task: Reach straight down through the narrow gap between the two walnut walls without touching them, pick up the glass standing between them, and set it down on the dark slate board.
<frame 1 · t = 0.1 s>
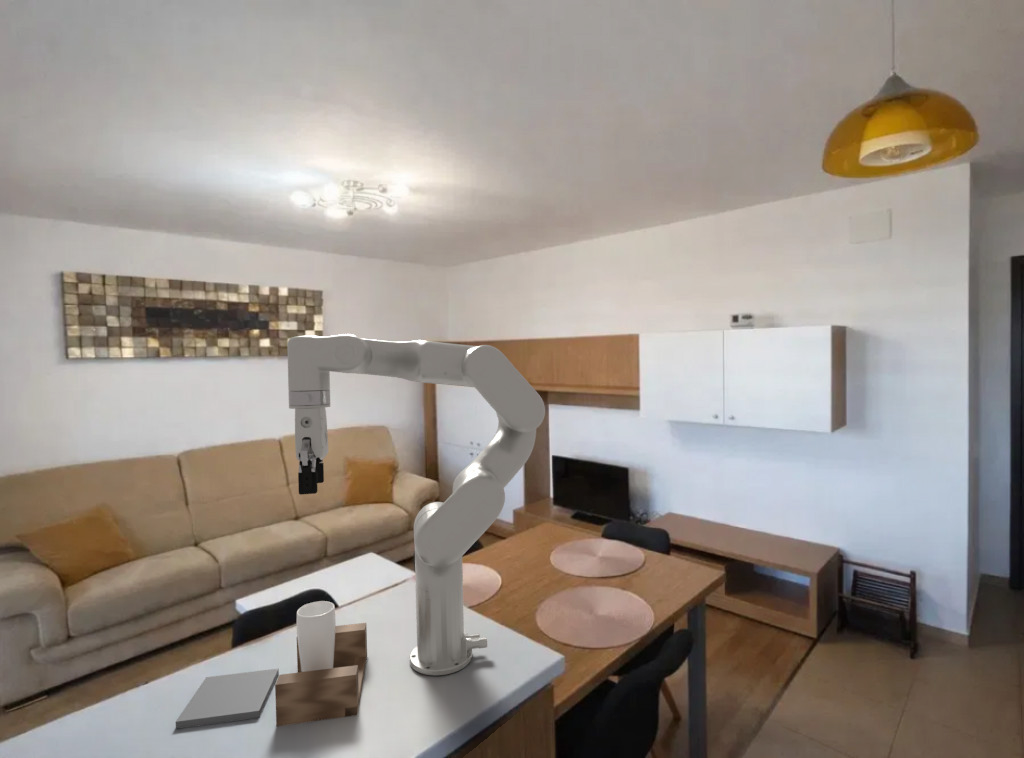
hand: (312, 488, 101), 37 cm above the kitchen counter, tool pointing down, fingers open, 9 cm apart
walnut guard: (318, 688, 97), on the kitchen counter
slate board: (231, 699, 95), on the kitchen counter
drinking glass: (318, 689, 97), on the kitchen counter
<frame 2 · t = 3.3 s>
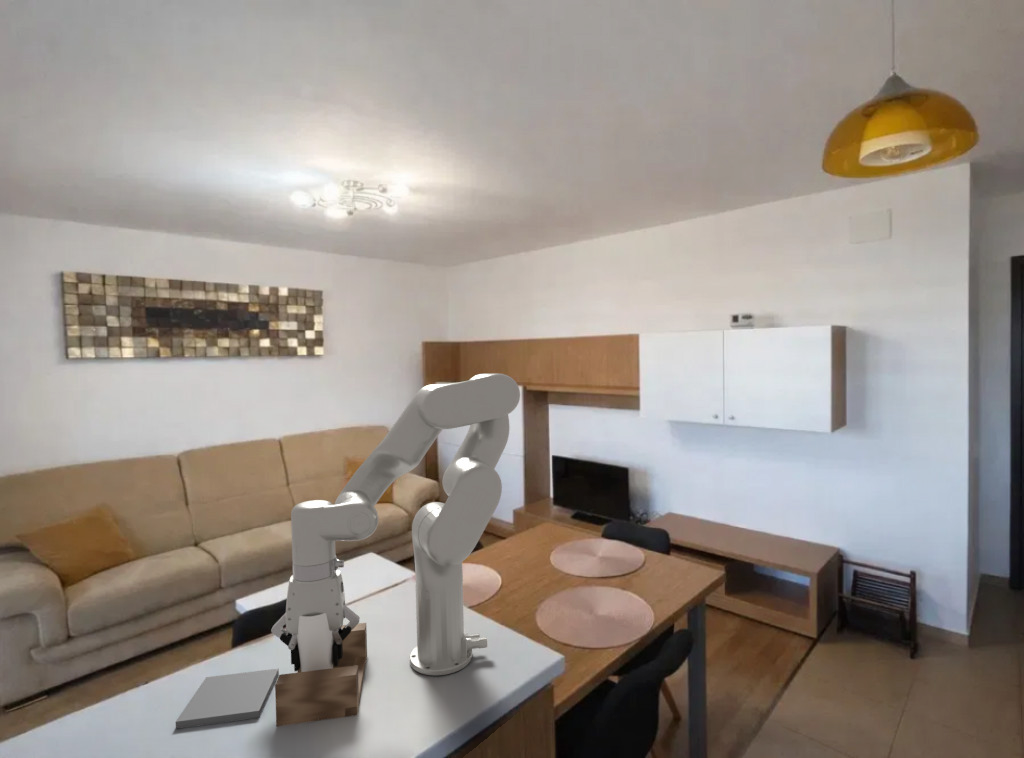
hand: (317, 663, 97), 5 cm above the kitchen counter, tool pointing down, fingers closed on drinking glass, 6 cm apart
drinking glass: (318, 689, 97), on the kitchen counter, touching gripper
everything else where it was.
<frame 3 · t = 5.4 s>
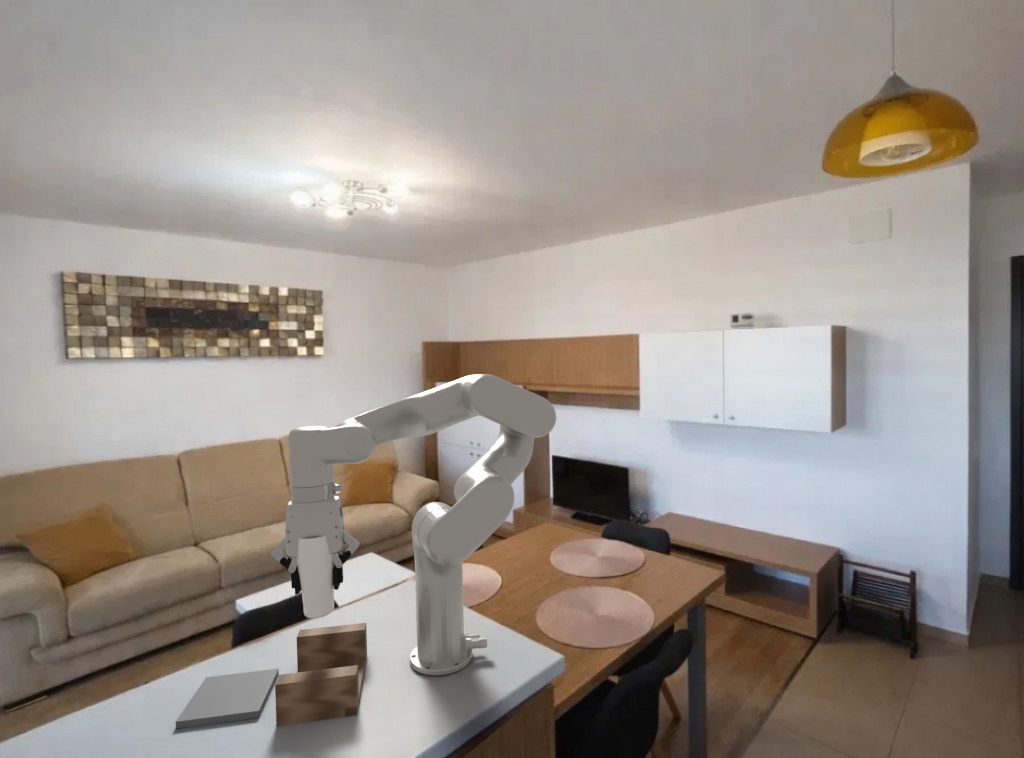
hand: (318, 588, 97), 19 cm above the kitchen counter, tool pointing down, fingers closed on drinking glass, 6 cm apart
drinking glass: (319, 613, 97), point 14 cm above the kitchen counter, touching gripper
everything else where it was.
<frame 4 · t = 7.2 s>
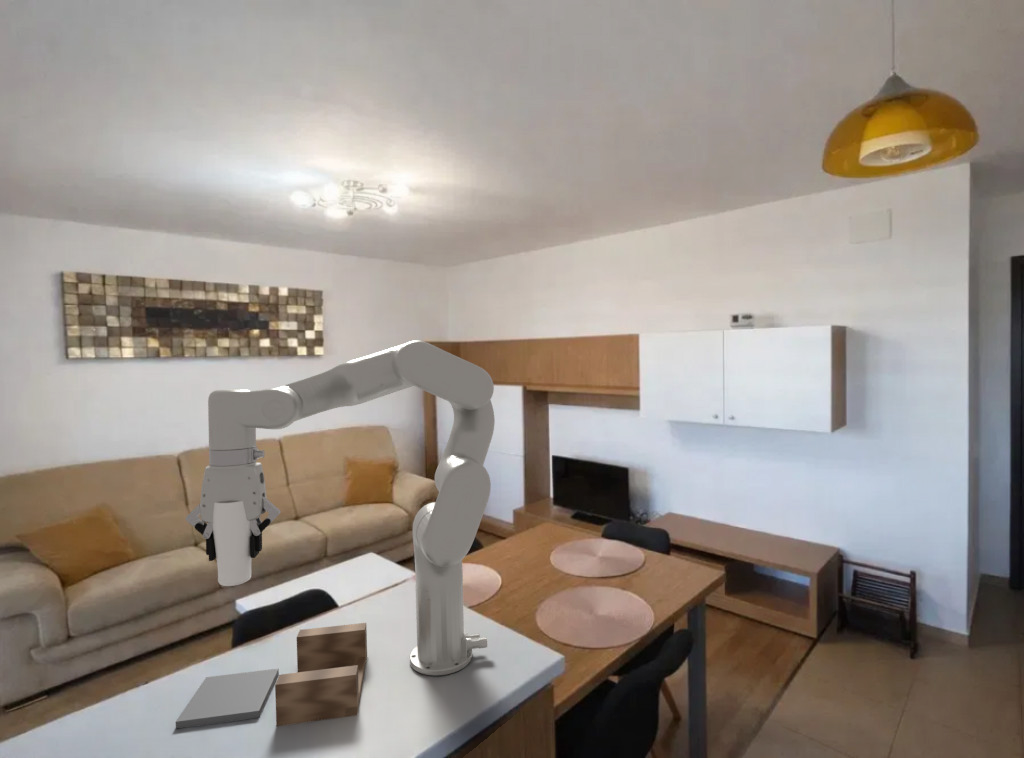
hand: (234, 556, 95), 26 cm above the kitchen counter, tool pointing down, fingers closed on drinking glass, 6 cm apart
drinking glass: (235, 582, 95), point 21 cm above the kitchen counter, touching gripper
everything else where it was.
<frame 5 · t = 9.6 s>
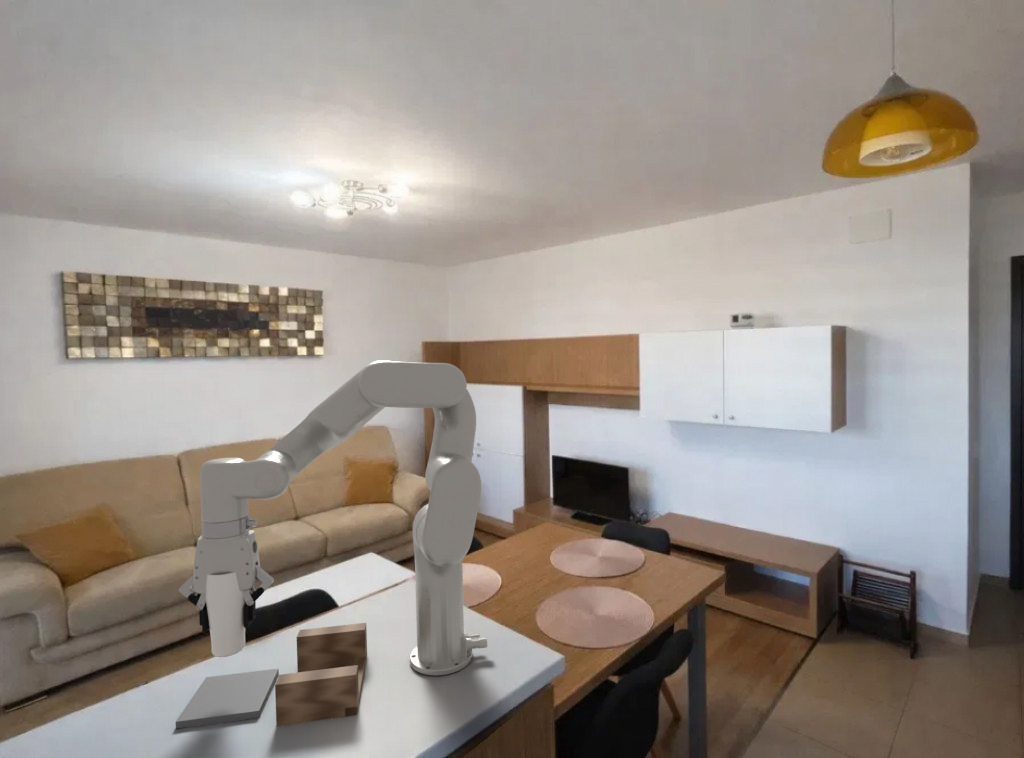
hand: (228, 625, 94), 14 cm above the kitchen counter, tool pointing down, fingers closed on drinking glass, 6 cm apart
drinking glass: (228, 651, 94), point 9 cm above the kitchen counter, touching gripper
everything else where it was.
when the fingers open (7 cm above the kitchen counter, at t = 11.4 s): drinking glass drops 1 cm, resting on slate board.
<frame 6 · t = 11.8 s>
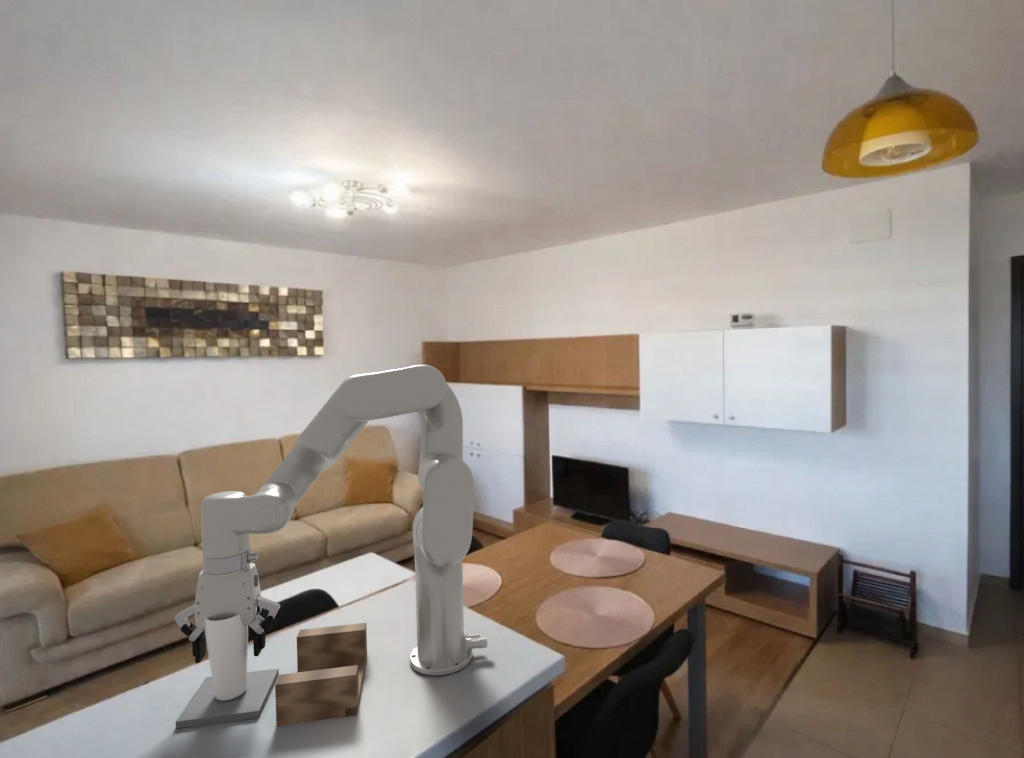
hand: (229, 655, 95), 8 cm above the kitchen counter, tool pointing down, fingers open, 9 cm apart
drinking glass: (231, 693, 95), point 1 cm above the kitchen counter, touching slate board
everything else where it was.
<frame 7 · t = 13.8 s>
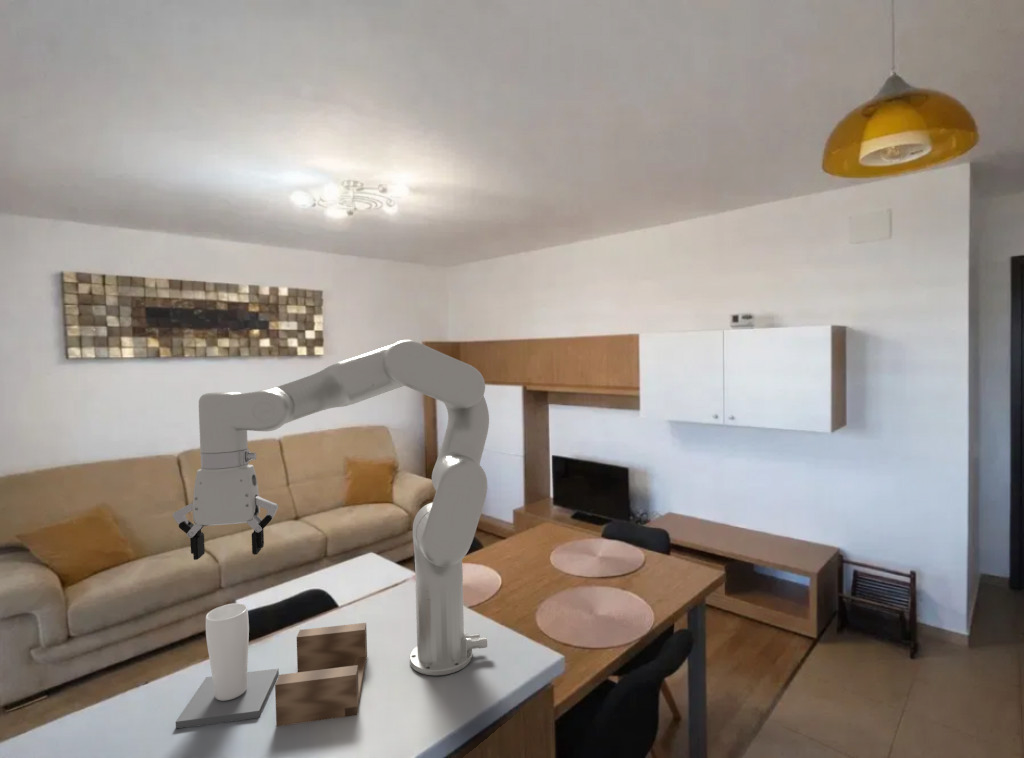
hand: (228, 554, 95), 26 cm above the kitchen counter, tool pointing down, fingers open, 9 cm apart
nothing on the kitchen counter moved.
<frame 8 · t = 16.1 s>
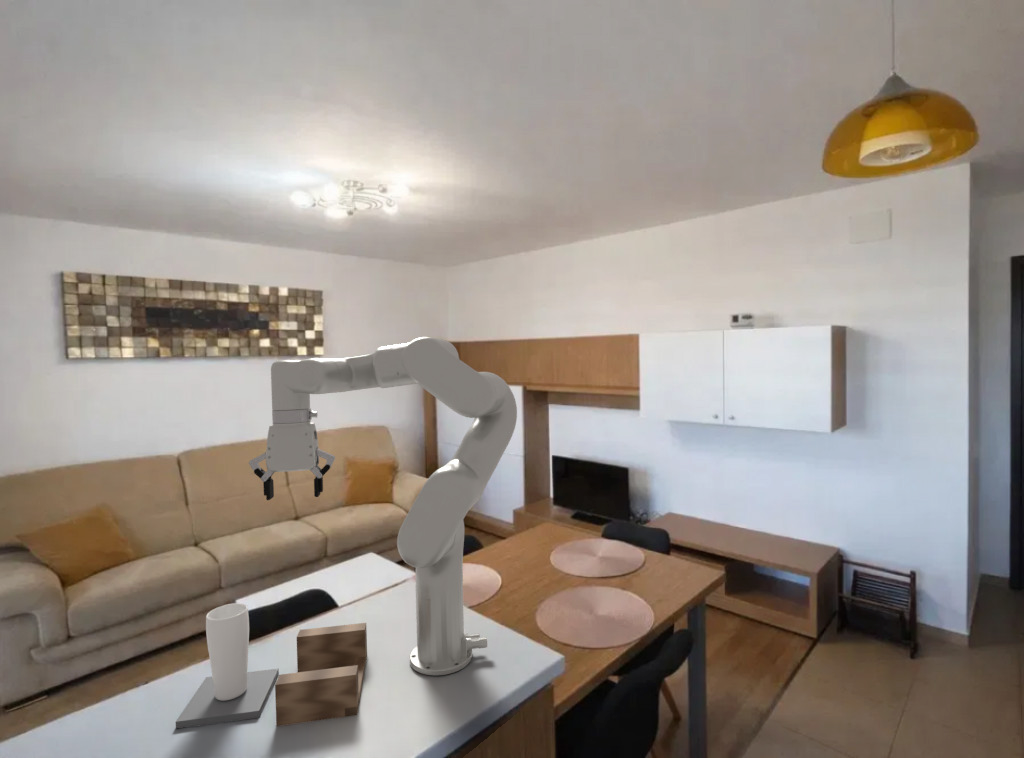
hand: (294, 497, 112), 32 cm above the kitchen counter, tool pointing down, fingers open, 9 cm apart
nothing on the kitchen counter moved.
at the end: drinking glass inside the target area on the slate board (0.1 cm from its centre), point 1.0 cm above the slate board's base; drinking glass tilted 1°; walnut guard moved 0.0 cm from its start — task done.
